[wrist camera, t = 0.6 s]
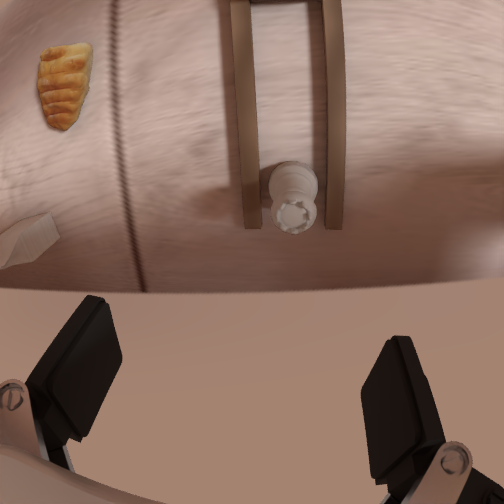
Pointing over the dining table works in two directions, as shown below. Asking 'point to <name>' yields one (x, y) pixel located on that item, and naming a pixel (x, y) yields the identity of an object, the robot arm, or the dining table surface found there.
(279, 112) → the dining table surface
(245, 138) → the guide track
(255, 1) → the end stop
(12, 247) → the white gable top carton
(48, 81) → the pastry
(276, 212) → the rook chess piece
